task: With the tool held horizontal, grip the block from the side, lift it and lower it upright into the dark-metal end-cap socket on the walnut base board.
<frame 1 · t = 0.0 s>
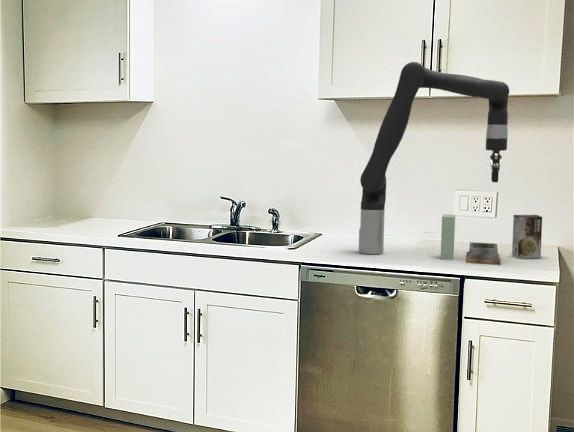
hand: (494, 181, 251), 29 cm above the worktop, tool pointing down, fingers open, 8 cm apart
coffee box: (525, 257, 260), on the worktop
block: (447, 257, 257), on the worktop
end cap: (482, 259, 254), on the worktop
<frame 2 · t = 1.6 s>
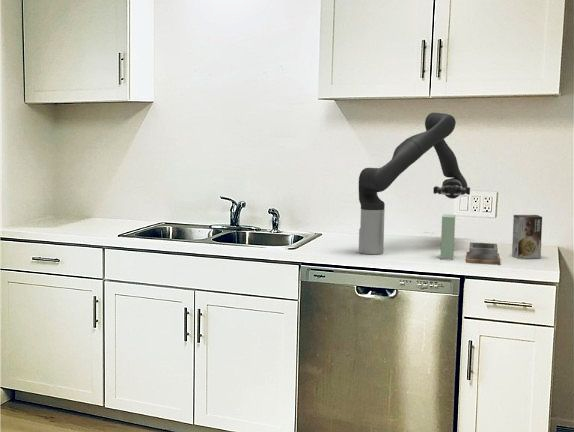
hand: (451, 191, 266), 24 cm above the worktop, tool horizontal, fingers open, 8 cm apart
nothing on the worktop moved.
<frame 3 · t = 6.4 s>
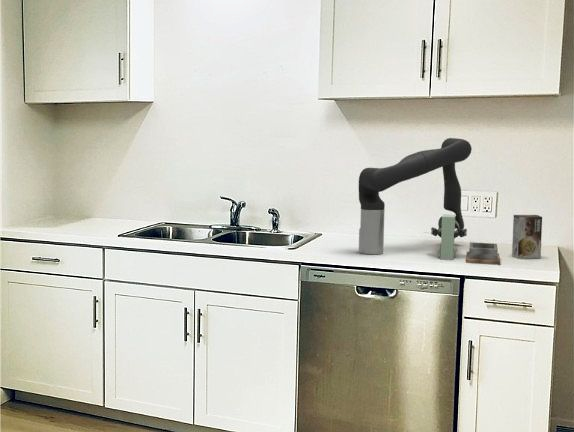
hand: (447, 234, 254), 9 cm above the worktop, tool horizontal, fingers closed on block, 4 cm apart
block: (447, 257, 257), on the worktop, touching gripper
everything else where it was.
when the fingers open (12 cm above the worktop, at t = 11.3 s): block drops 2 cm, resting on end cap.
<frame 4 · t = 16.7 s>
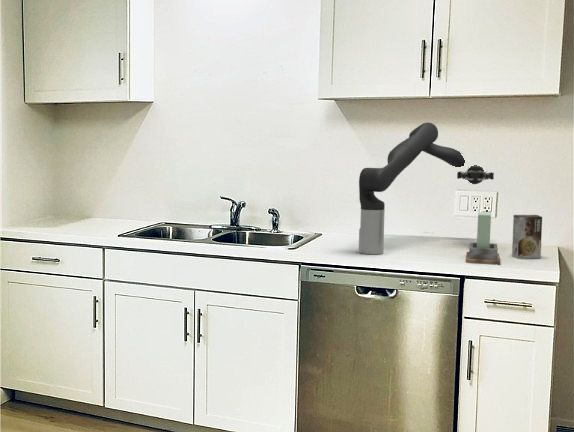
hand: (475, 176, 270), 30 cm above the worktop, tool horizontal, fingers open, 8 cm apart
block: (482, 256, 254), point 1 cm above the worktop, touching end cap
everything else where it was.
at the end: block 0.1 cm off-centre on the end cap, point 1.2 cm above the end cap's base; block tilted 0°; the gripper is holding nothing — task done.
